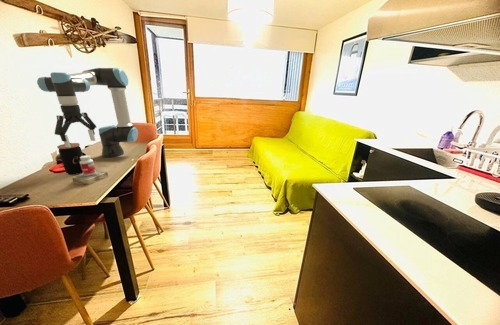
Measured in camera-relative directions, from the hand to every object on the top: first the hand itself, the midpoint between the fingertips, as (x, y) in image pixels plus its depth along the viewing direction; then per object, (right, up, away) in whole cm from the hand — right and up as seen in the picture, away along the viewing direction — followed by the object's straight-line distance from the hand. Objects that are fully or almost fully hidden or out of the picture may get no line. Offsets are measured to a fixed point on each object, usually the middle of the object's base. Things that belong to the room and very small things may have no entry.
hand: (81, 143), depth 113 cm
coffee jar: (-18, -17, +18) cm, 30 cm away
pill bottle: (0, -18, +6) cm, 19 cm away
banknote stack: (0, -21, +7) cm, 22 cm away
